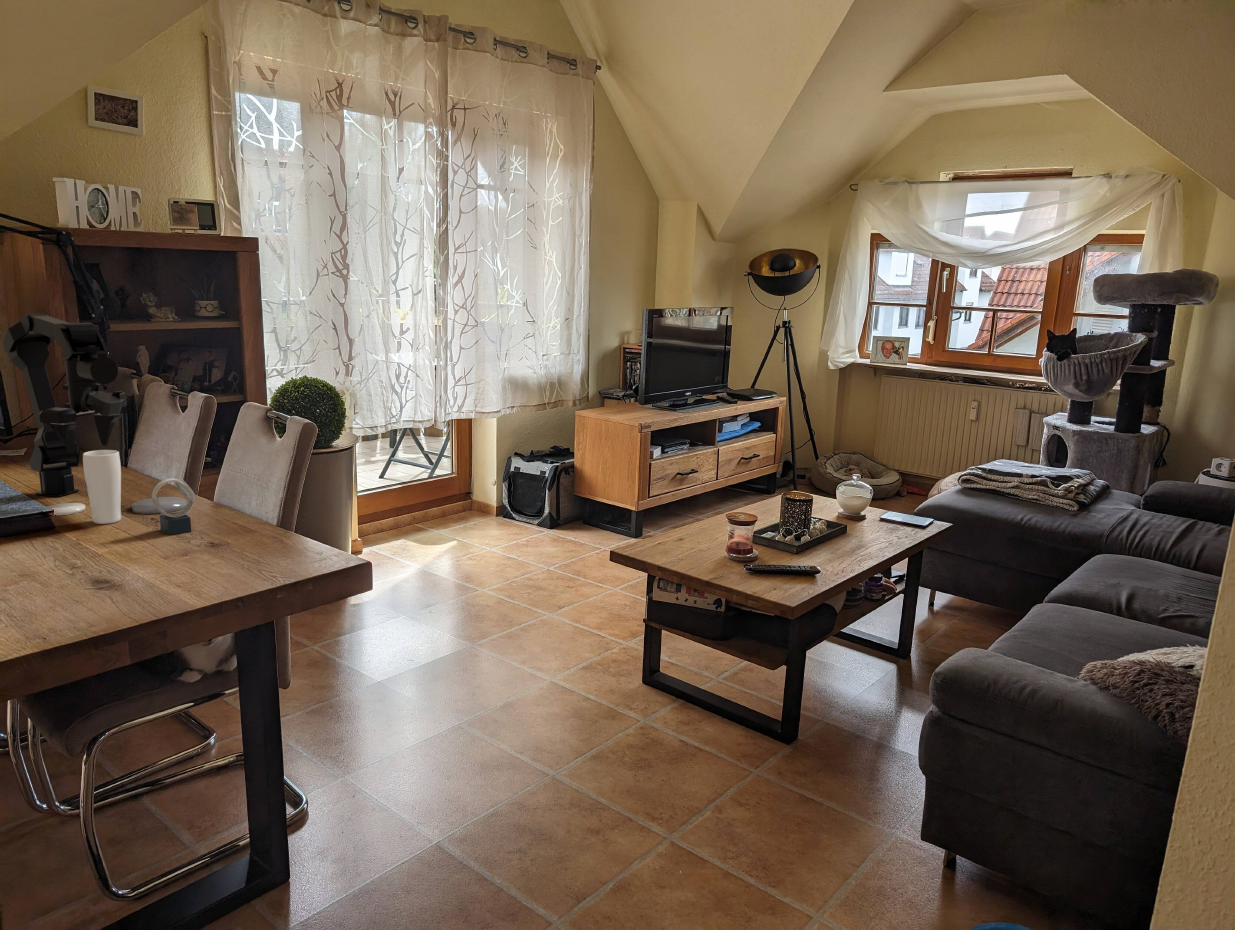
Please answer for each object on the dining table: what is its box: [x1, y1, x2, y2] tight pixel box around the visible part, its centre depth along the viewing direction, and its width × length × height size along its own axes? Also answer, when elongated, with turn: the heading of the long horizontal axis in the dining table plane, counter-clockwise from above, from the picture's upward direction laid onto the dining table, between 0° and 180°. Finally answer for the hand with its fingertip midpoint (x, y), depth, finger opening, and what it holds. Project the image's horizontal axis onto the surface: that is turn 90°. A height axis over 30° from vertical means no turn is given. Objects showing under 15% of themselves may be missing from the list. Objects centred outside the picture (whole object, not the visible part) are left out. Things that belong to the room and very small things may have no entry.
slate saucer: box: [131, 496, 188, 515], centre depth 197 cm, size 11×11×1 cm
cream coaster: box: [46, 502, 87, 516], centre depth 192 cm, size 8×8×1 cm
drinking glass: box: [82, 449, 122, 525], centre depth 184 cm, size 7×7×15 cm
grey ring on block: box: [151, 477, 196, 536], centre depth 179 cm, size 6×8×11 cm
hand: (88, 449), depth 195 cm, fingers open, 9 cm apart
